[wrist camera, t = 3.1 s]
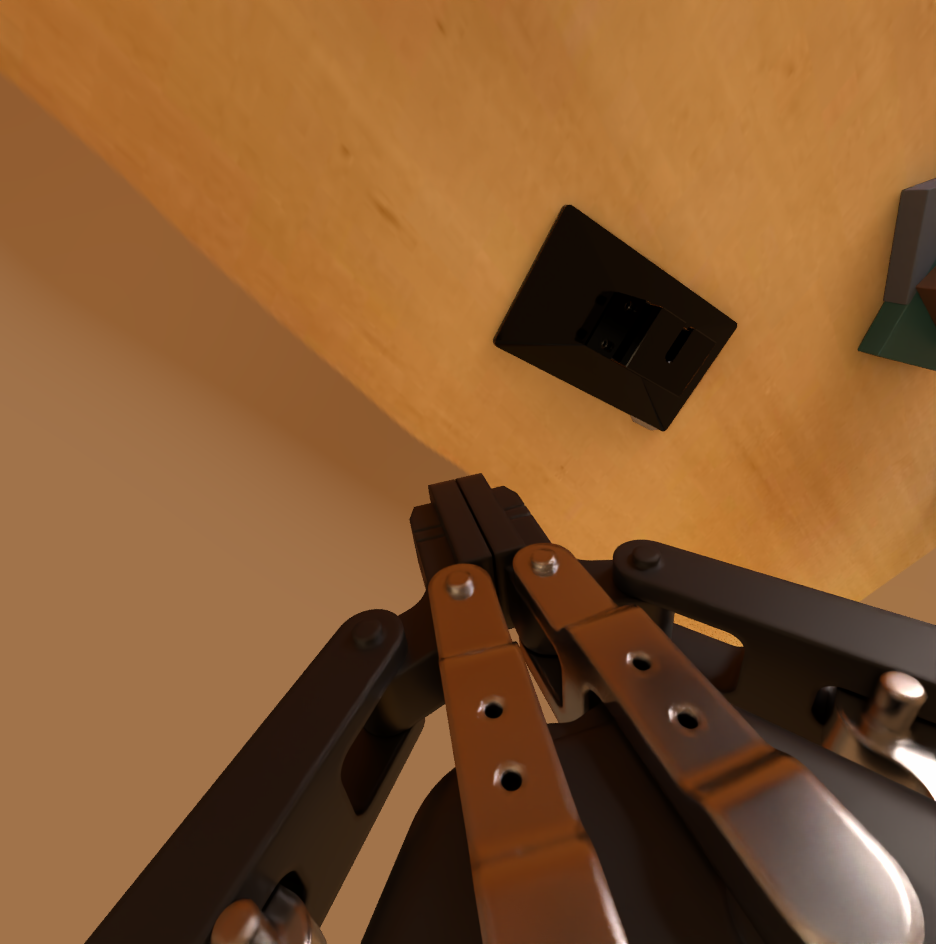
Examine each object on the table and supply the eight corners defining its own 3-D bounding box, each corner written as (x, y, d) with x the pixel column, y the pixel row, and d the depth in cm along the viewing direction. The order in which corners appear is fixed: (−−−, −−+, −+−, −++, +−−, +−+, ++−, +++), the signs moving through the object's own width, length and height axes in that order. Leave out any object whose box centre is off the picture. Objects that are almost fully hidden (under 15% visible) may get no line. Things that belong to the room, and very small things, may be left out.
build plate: (733, 322, 28) (802, 342, 24) (657, 433, 30) (709, 468, 26) (564, 201, 22) (617, 202, 18) (488, 348, 25) (520, 376, 21)
